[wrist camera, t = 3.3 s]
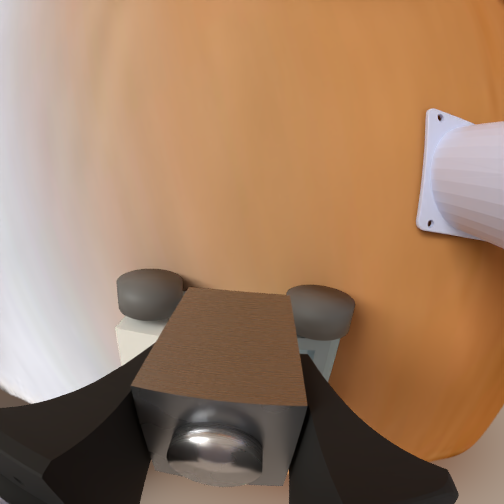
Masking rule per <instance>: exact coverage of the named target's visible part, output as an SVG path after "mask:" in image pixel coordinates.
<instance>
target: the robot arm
mask: <svg viewBox="0 0 504 504" xmlns="http://www.w3.org/2000/svg"><path fill="white" fill-rule="evenodd" d="M438 115H439V116H440V118H441V121H439V120H438ZM429 220H431V225H430V226H429V227H428V221H429ZM416 225H417V227H418V228H419V229H421V230H424V231H430V232H436V233H443V234H449V235H454V236H460V237H466V238H471V239H477V240H482V241H487V242H489V243H492V244H494V245H496V246H498V247H501V248H503V249H504V121H503V122H494V123H485V124H477V125H475V124H473V123H471V122H468V121H466V120H463V119H461V118H458V117H456V116H453V115H450V114H448V113H445V112H442V111H440V110H437V109H429V110H427V112H426V129H425V148H424V161H423V172H422V181H421V190H420V198H419V205H418V212H417V218H416ZM154 344H155V343H154ZM154 344H152V345H151V346H150V347H148V348H147V349H146V350H144V351H143V352H141V353H140V354H139V355H137V356H136V357H134V358H133V359H131V360H130V361H128V362H127V363H126V364H124V365H123V366H121V367H119V368H118V369H116V370H114V371H113V372H111V373H109V374H108V375H106V376H105V377H103V378H101V379H99V380H97V381H95V382H94V383H92V384H89V385H87V386H85V387H83V388H81V389H79V390H76V391H74V392H71V393H68V394H65V395H62V396H60V397H57V398H54V399H50V400H47V401H43V402H39V403H34V404H30V405H24V406H18V407H9V408H0V504H140V499H141V495H142V491H143V487H144V482H145V479H146V475H147V471H148V468H149V464H150V460H151V456H150V453H149V450H148V447H147V444H146V441H145V438H144V434H143V431H142V428H141V424H140V421H139V417H138V413H137V410H136V406H135V402H134V398H133V394H132V390H131V384H132V382H133V380H134V379H135V377H136V375H137V373H138V372H139V370H140V368H141V366H142V365H143V363H144V361H145V360H146V358H147V356H148V354H149V353H150V351H151V349H152V348H153V346H154ZM300 359H301V365H302V372H303V378H304V385H305V392H306V398H307V405H308V406H307V410H306V414H305V417H304V421H303V424H302V428H301V431H300V435H299V438H298V441H297V444H296V448H295V451H294V454H293V457H292V460H291V463H290V466H289V479H290V480H289V504H454V503H455V502H456V500H457V498H458V491H457V489H456V487H455V484H454V482H453V480H452V478H451V476H450V474H449V472H448V470H447V469H444V468H441V467H439V466H437V465H434V464H432V463H429V462H427V461H424V460H422V459H420V458H418V457H416V456H414V455H412V454H410V453H408V452H406V451H405V450H403V449H401V448H399V447H398V446H396V445H394V444H393V443H391V442H390V441H388V440H387V439H386V438H384V437H383V436H381V435H380V434H378V433H377V432H376V431H375V430H373V429H372V428H371V427H369V426H368V425H367V424H366V423H365V422H364V421H363V420H361V419H360V418H359V417H358V416H357V415H356V414H355V413H354V412H353V411H352V410H351V409H350V408H349V407H348V406H347V405H346V404H345V403H344V402H343V400H342V399H341V398H340V397H339V396H338V395H337V393H336V392H335V391H334V390H333V388H332V387H331V386H330V385H329V383H328V382H327V381H326V379H325V378H324V377H323V375H322V374H321V372H320V371H319V370H318V368H317V367H316V365H315V364H314V362H313V361H312V359H311V358H310V356H309V355H308V354H300Z"/></svg>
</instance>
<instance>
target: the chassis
mask: <svg viewBox="0 0 504 504" xmlns="http://www.w3.org/2000/svg"><path fill="white" fill-rule="evenodd" d="M117 293H118V303H119V309H120V311H121V312H122V313H123V314H124V315H126V316H125V317H124V318H123V319H122V320H121V322H120V323H119V324H118V325H117V326H116V327H115V331H116V337H117V344H118V350H119V355H120V361H121V366H123V365H124V364H126V363H127V362H128V361H130V360H131V359H133V358H134V357H136V356H137V355H139V354H140V353H141V352H143V351H144V350H146V349H147V348H148V347H150V346H151V345H152V344H154V343H155V342H156V341H157V339H158V337H159V336H160V334H161V332H162V331H163V329H164V327H165V326H166V324H167V322H168V321H169V319H170V317H171V316H172V314H173V312H174V311H175V309H176V307H177V306H178V304H179V302H180V301H181V299H182V297H183V296H184V294H185V293H186V291H183V280H182V278H181V277H180V276H179V275H178V274H176V273H174V272H171V271H167V270H161V269H141V270H135V271H131V272H128V273H125V274H123V275H121V276H120V277H119V278H118V279H117ZM286 295H290V299H291V304H292V310H293V316H294V322H295V328H296V334H297V340H298V346H299V353H300V354H308V355H309V356H310V358H311V359H312V361H313V362H314V364H315V365H316V367H317V368H318V370H319V371H320V372H321V374H322V375H323V377H324V378H325V379H326V381H327V382H328V380H329V377H330V374H331V370H332V367H333V363H334V360H335V356H336V352H337V349H338V345H339V341H340V338H342V337H344V336H345V335H346V334H347V333H348V331H349V328H350V324H351V320H352V316H353V312H354V308H355V302H354V300H353V299H352V298H351V297H350V296H349V295H348V294H346V293H344V292H342V291H340V290H337V289H334V288H330V287H326V286H320V285H300V286H296V287H293V288H291V289H289V290H288V292H287V294H286Z"/></svg>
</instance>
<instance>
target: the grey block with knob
mask: <svg viewBox="0 0 504 504" xmlns="http://www.w3.org/2000/svg"><path fill="white" fill-rule="evenodd" d="M131 390H132V394H133V398H134V402H135V406H136V410H137V413H138V417H139V421H140V424H141V428H142V431H143V434H144V438H145V441H146V444H147V447H148V450H149V453H150V456H151V459H152V462H153V465H154V468H155V470H156V471H160V472H164V473H169V474H173V475H178V476H184V477H186V478H188V479H191V480H193V481H196V482H198V483H202V484H206V485H211V486H219V487H234V486H241V485H245V484H249V485H267V486H283V484H284V481H285V478H286V475H287V472H288V469H289V466H290V463H291V460H292V457H293V454H294V451H295V448H296V444H297V441H298V438H299V435H300V431H301V428H302V424H303V421H304V417H305V414H306V410H307V406H308V405H307V398H306V392H305V385H304V378H303V372H302V365H301V359H300V353H299V346H298V340H297V334H296V328H295V322H294V316H293V310H292V304H291V299H290V295H279V294H265V293H252V292H239V291H228V290H216V289H206V288H195V287H189V288H188V289H187V291H186V293H185V294H184V296H183V297H182V299H181V301H180V302H179V304H178V306H177V307H176V309H175V311H174V312H173V314H172V316H171V317H170V319H169V321H168V322H167V324H166V326H165V327H164V329H163V331H162V332H161V334H160V336H159V337H158V339H157V341H156V342H155V344H154V346H153V348H152V349H151V351H150V353H149V354H148V356H147V358H146V360H145V361H144V363H143V365H142V366H141V368H140V370H139V372H138V373H137V375H136V377H135V379H134V380H133V382H132V384H131Z"/></svg>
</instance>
